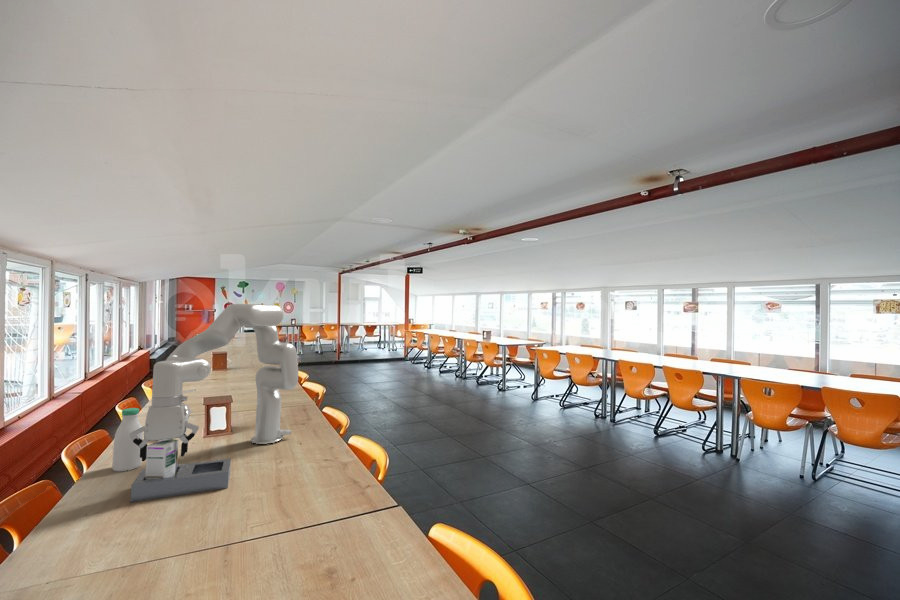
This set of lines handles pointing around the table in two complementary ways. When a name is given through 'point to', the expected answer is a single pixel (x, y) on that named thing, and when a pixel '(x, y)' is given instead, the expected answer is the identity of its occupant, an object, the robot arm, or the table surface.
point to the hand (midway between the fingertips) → (164, 457)
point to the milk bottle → (127, 442)
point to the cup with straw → (188, 407)
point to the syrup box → (162, 459)
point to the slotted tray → (183, 480)
